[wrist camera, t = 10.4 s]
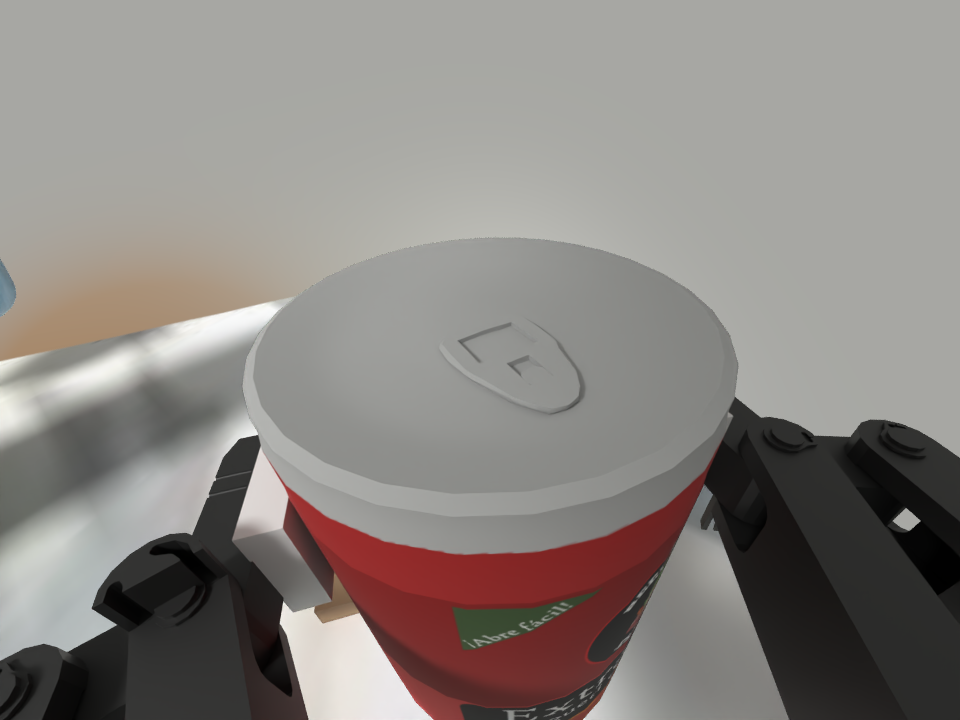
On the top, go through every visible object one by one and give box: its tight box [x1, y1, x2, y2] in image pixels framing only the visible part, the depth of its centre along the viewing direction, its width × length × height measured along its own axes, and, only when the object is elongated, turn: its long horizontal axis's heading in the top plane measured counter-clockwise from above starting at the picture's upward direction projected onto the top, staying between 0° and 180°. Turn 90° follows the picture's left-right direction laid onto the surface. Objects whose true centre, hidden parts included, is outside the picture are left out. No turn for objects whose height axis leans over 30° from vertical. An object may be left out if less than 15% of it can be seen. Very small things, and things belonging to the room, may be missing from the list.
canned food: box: [242, 238, 738, 720], centre depth 10 cm, size 8×8×11 cm
